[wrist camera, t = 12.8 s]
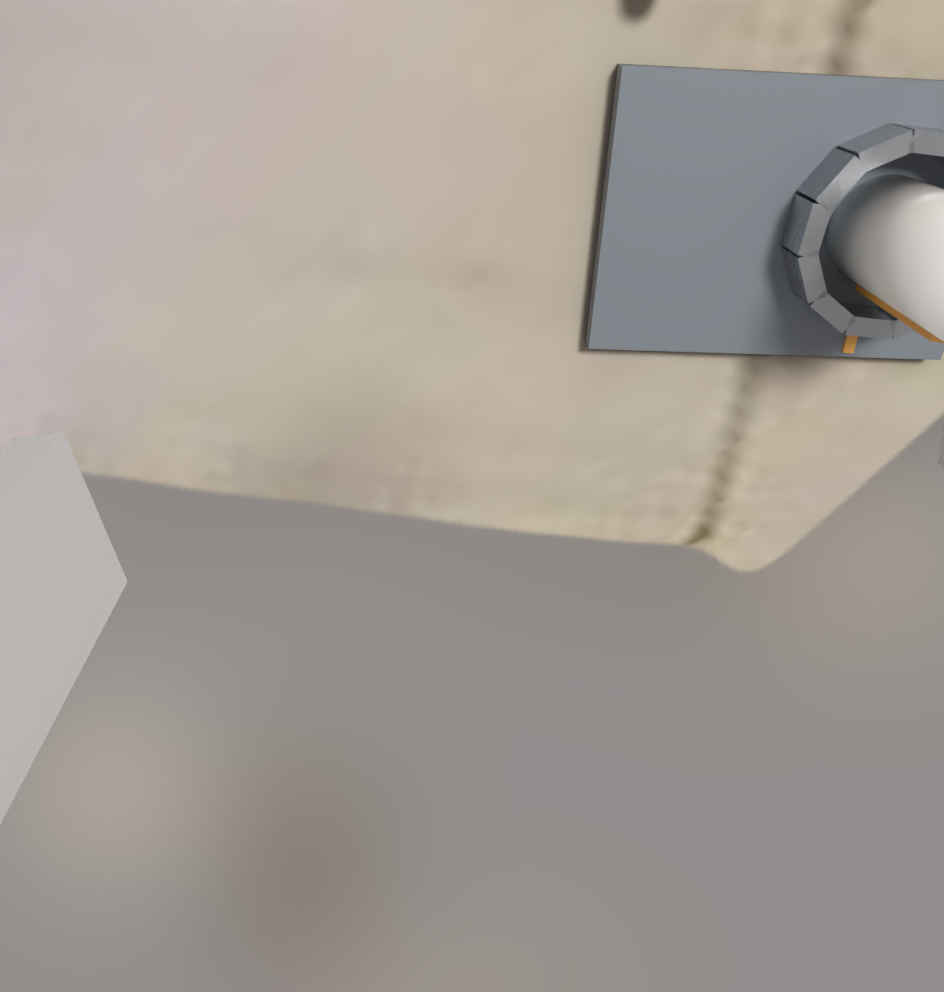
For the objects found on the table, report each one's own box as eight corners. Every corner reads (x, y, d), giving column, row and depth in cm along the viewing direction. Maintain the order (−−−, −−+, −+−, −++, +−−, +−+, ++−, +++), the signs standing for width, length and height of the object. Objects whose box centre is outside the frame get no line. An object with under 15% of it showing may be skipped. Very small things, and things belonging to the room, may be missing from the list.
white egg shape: (852, 164, 43) (957, 204, 34) (952, 185, 44) (1080, 230, 35) (808, 276, 46) (896, 340, 37) (903, 294, 47) (1010, 361, 38)
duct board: (585, 341, 49) (589, 350, 47) (617, 63, 42) (623, 65, 40) (929, 352, 50) (942, 361, 48) (1017, 83, 43) (1034, 86, 41)
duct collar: (743, 250, 45) (759, 262, 43) (893, 80, 41) (918, 84, 39) (868, 356, 48) (888, 373, 46) (1017, 207, 45) (1047, 218, 42)
